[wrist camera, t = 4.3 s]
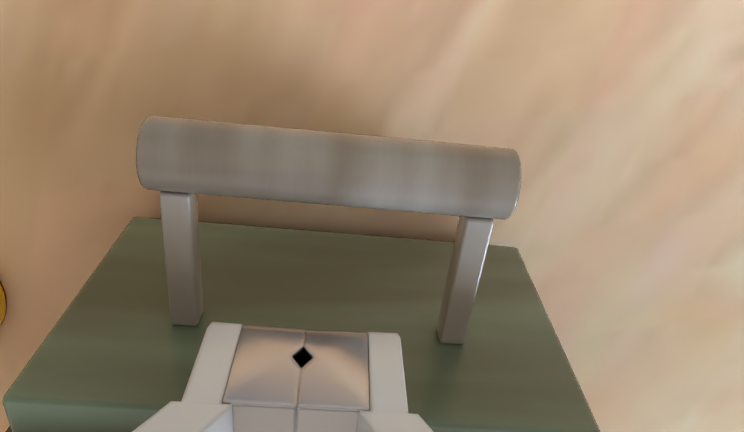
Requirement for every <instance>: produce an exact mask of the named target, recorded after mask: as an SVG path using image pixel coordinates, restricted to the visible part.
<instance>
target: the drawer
mask: <svg viewBox="0 0 744 432" xmlns="http://www.w3.org/2000/svg"><path fill="white" fill-rule="evenodd" d="M136 166H137V173H138V177H139V180H140V183H141V185H142V186H143V187H144V188H146V189H148V190H158V191H161V192H160V194H159V200H160V211H161V219H157V218H145V217H134V218H133V219H132V220H131V221H130V223H129V224H128V225H127V227H126V228H125V230H124V231H123V232H122V234H121V235H120V236H119V238H118V239H117V241H116V242H115V243H114V245H113V246H112V248H111V249H110V250H109V252H108V253H107V254H106V256H105V257H104V259H103V260H102V261H101V263H100V264H99V266H98V267H97V268H96V270H95V271H94V272H93V274H92V275H91V277H90V278H89V279H88V281H87V282H86V283H85V285H84V286H83V288H82V289H81V290H80V292H79V293H78V295H77V296H76V297H75V299H74V300H73V301H72V303H71V304H70V306H69V307H68V308H67V310H66V311H65V313H64V314H63V315H62V317H61V318H60V319H59V321H58V322H57V324H56V325H55V326H54V328H53V329H52V330H51V332H50V333H49V335H48V336H47V337H46V339H45V340H44V342H43V343H42V344H41V346H40V347H39V348H38V350H37V351H36V353H35V354H34V355H33V357H32V358H31V360H30V361H29V362H28V364H27V365H26V366H25V368H24V369H23V371H22V372H21V373H20V375H19V376H18V377H17V379H16V380H15V382H14V383H13V384H12V386H11V387H10V389H9V390H8V391H7V393H6V394H5V395H4V398H3V404H4V407H5V411H6V414H7V417H8V420H9V423H10V426H11V429H12V432H132V431H133V430H135V429H136V428H137V427H139V426H140V425H141V424H142V423H144V422H145V421H146V420H148V419H149V418H150V417H151V416H153V415H154V414H155V413H156V412H158V411H159V410H160V409H162V408H163V407H164V406H165V405H167V404H168V403H169V402H171V401H179V402H181V401H182V398H183V395H184V392H185V389H186V386H187V384H188V381H189V378H190V375H191V372H192V369H193V367H194V364H195V361H196V358H197V355H198V352H199V350H200V347H201V344H202V341H203V338H204V335H205V333H206V330H207V328H208V326H209V325H210V324H211V323H212V322H222V323H234V324H243V325H244V324H253V325H264V326H276V327H288V328H299V329H315V330H333V331H351V332H366V333H368V332H382V333H398V335H399V336H400V339H401V348H402V357H403V367H404V376H405V385H406V395H407V404H408V413H411V414H419V416H420V417H421V418H422V419H423V420H424V421H425V422H426V424H427V425H428V426H429V427H430V428H431V429H432V430H433V432H600V430H599V428H598V425H597V423H596V421H595V419H594V417H593V414H592V412H591V410H590V408H589V405H588V403H587V401H586V399H585V397H584V394H583V392H582V390H581V388H580V386H579V383H578V381H577V379H576V377H575V375H574V372H573V370H572V368H571V366H570V364H569V361H568V359H567V357H566V355H565V353H564V350H563V348H562V346H561V344H560V342H559V339H558V337H557V335H556V333H555V331H554V328H553V326H552V324H551V322H550V320H549V317H548V315H547V313H546V311H545V309H544V306H543V304H542V302H541V300H540V298H539V295H538V293H537V291H536V289H535V287H534V284H533V282H532V280H531V278H530V276H529V273H528V271H527V269H526V267H525V265H524V262H523V260H522V258H521V256H520V254H519V251H518V249H517V248H515V247H505V246H493V245H489V241H490V237H491V233H492V229H493V225H494V221H493V219H508V218H509V217H510V216H511V215H512V214H513V212H514V210H515V207H516V204H517V201H518V197H519V193H520V186H521V164H520V159H519V155H518V153H517V152H516V151H515V150H514V149H509V148H498V147H487V146H477V145H466V144H455V143H444V142H433V141H423V140H412V139H401V138H390V137H380V136H369V135H358V134H347V133H336V132H326V131H315V130H304V129H293V128H283V127H272V126H261V125H250V124H239V123H229V122H218V121H207V120H196V119H186V118H175V117H164V116H149V117H147V118H146V119H145V120H144V122H143V123H142V126H141V128H140V131H139V135H138V140H137V147H136ZM197 194H206V195H218V196H230V197H242V198H254V199H266V200H278V201H290V202H302V203H314V204H326V205H337V206H349V207H361V208H373V209H385V210H397V211H409V212H421V213H433V214H445V215H457V216H460V217H459V222H458V227H457V232H456V236H455V241H454V242H443V241H431V240H418V239H406V238H393V237H381V236H369V235H356V234H344V233H331V232H319V231H306V230H294V229H281V228H269V227H257V226H244V225H232V224H219V223H207V222H199V220H198V203H197Z"/></svg>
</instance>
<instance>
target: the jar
mask: <svg viewBox="0 0 744 432" xmlns="http://www.w3.org/2000/svg"><path fill="white" fill-rule="evenodd" d="M5 310H6V300H5V295H4V292H3V289H2V286H1V284H0V325H1V323H2V321H3V319H4V316H5Z"/></svg>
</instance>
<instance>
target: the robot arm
mask: <svg viewBox="0 0 744 432" xmlns="http://www.w3.org/2000/svg"><path fill="white" fill-rule="evenodd" d="M132 432H433V430H432V429H431V428H430V427H429V426H428V425H427V424H426V422H425V421H424V420H423V419H422V418H421V417H420V416H419V414H411V413H408V404H407V395H406V385H405V376H404V367H403V357H402V348H401V339H400V336H399V335H398V333H382V332H368V333H366V332H351V331H333V330H315V329H299V328H288V327H276V326H264V325H253V324H244V325H243V324H234V323H222V322H212V323H211V324H210V325H209V326H208V328H207V330H206V333H205V335H204V338H203V341H202V344H201V347H200V350H199V352H198V355H197V358H196V361H195V364H194V367H193V369H192V372H191V375H190V378H189V381H188V384H187V386H186V389H185V392H184V395H183V398H182V401H181V402H179V401H171V402H169V403H168V404H167V405H165V406H164V407H163V408H162V409H160V410H159V411H158V412H156V413H155V414H154V415H153V416H151V417H150V418H149V419H148V420H146V421H145V422H144V423H142V424H141V425H140V426H139V427H137V428H136V429H135V430H133V431H132Z"/></svg>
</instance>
